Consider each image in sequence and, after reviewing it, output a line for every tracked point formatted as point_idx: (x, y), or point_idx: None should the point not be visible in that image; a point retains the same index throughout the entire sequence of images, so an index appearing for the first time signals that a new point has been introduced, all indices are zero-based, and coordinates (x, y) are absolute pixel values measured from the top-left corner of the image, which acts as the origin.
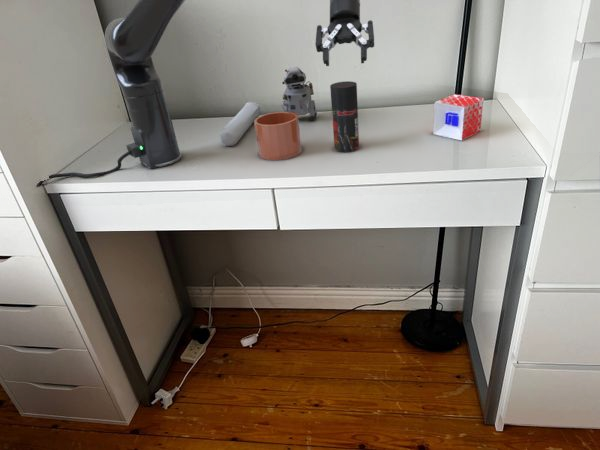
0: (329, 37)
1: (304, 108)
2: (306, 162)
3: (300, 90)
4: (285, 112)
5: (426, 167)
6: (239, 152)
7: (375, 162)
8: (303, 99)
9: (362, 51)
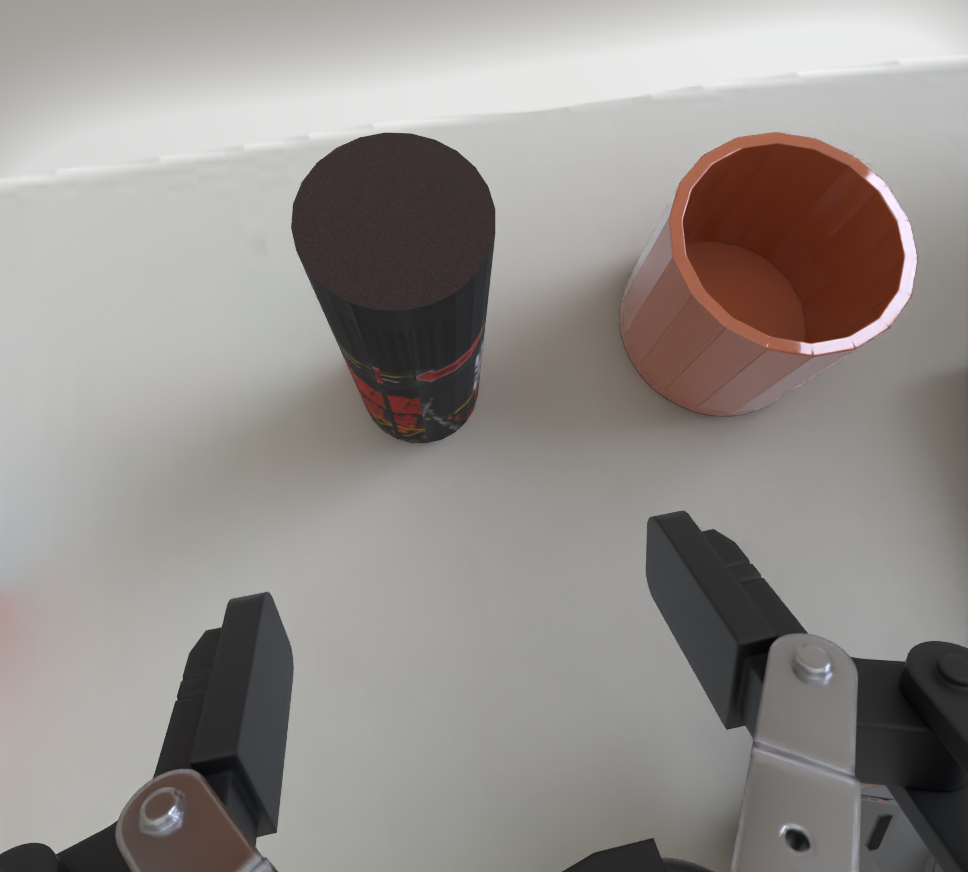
0: (823, 778)
1: None
2: (552, 229)
3: None
4: (792, 341)
5: (65, 210)
6: (905, 315)
7: (267, 243)
8: (867, 814)
9: (229, 668)
